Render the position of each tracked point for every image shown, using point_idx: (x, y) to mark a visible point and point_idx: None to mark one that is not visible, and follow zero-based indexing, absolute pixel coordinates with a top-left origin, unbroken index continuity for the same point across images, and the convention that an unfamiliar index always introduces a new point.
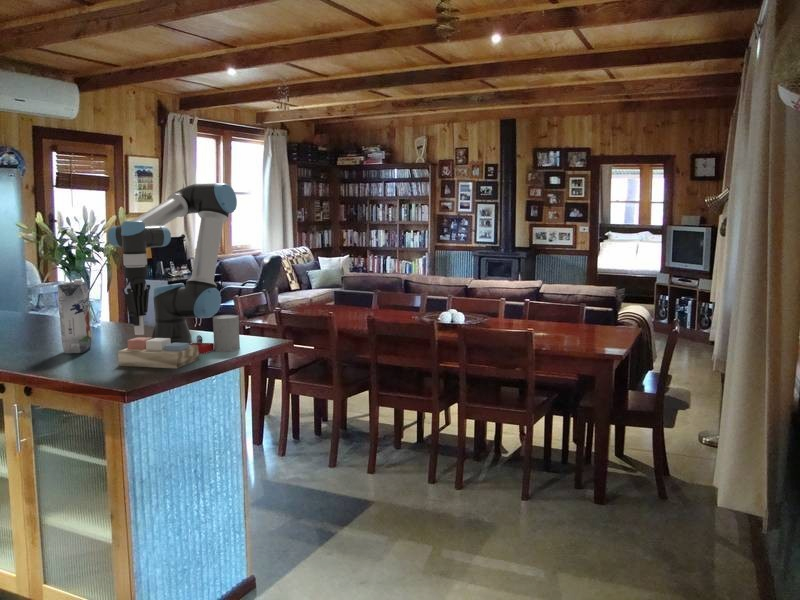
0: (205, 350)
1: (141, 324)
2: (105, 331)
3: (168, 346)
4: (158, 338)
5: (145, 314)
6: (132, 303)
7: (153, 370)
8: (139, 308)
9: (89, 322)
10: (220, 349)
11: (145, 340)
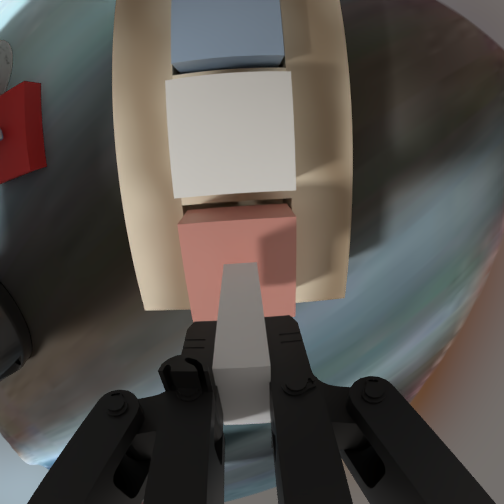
0: (33, 82)
1: (254, 307)
2: (46, 455)
3: (282, 33)
4: (189, 160)
5: (185, 362)
6: (479, 490)
7: (371, 80)
8: (289, 460)
9: (143, 499)
10: (7, 65)
11: (258, 218)
